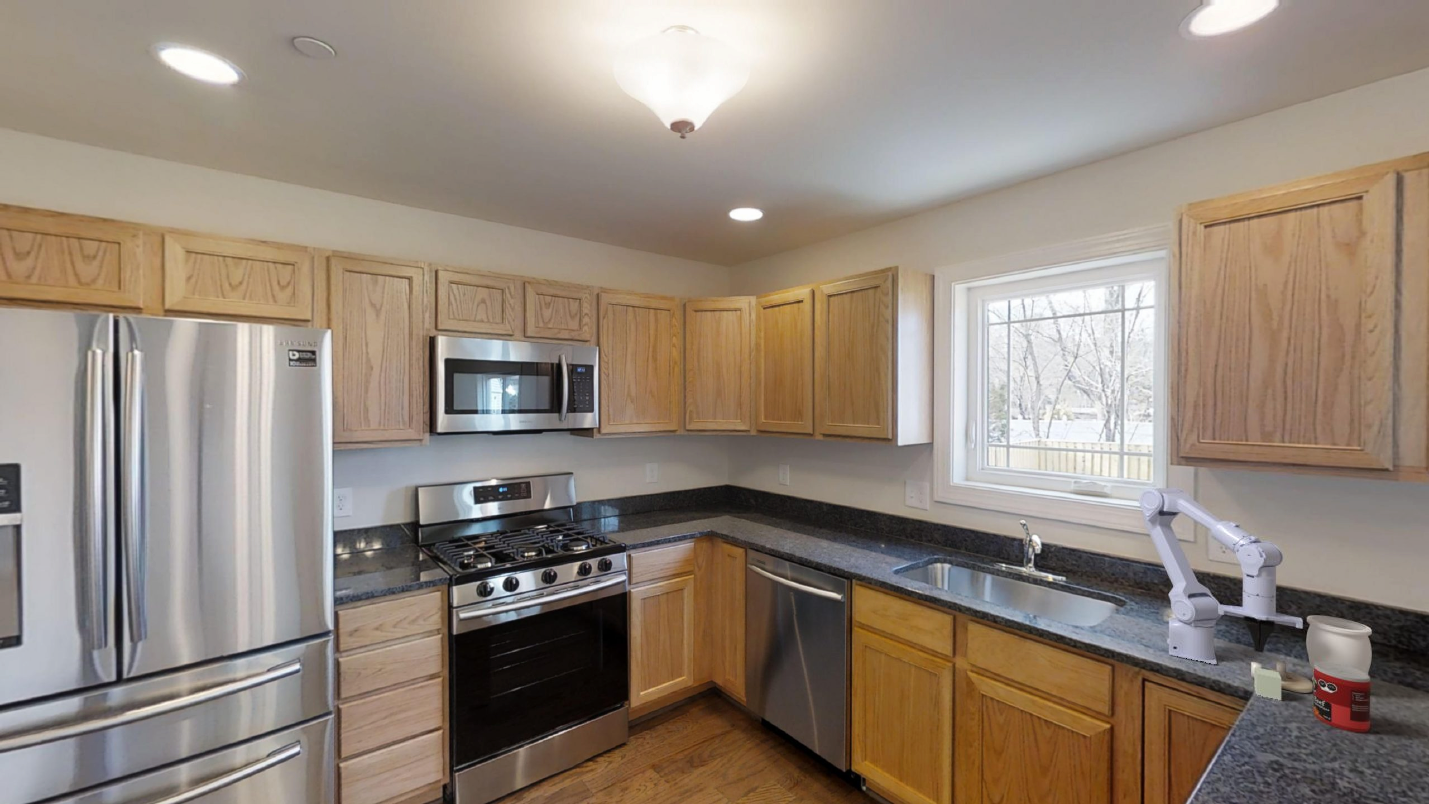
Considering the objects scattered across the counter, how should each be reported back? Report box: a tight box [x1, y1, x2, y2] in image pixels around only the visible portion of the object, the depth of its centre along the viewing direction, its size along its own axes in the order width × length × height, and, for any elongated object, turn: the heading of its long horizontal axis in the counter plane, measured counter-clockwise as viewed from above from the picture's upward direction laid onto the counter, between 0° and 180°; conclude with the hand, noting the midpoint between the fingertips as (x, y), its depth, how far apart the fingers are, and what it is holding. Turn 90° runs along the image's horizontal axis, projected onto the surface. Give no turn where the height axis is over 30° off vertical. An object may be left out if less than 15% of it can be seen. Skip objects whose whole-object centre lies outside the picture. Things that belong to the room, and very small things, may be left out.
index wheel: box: [1269, 661, 1314, 694], centre depth 136 cm, size 8×8×6 cm
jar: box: [1305, 615, 1373, 682], centre depth 136 cm, size 11×10×15 cm
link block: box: [1253, 667, 1282, 701], centre depth 132 cm, size 4×4×5 cm
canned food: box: [1312, 662, 1371, 734], centre depth 120 cm, size 8×8×11 cm
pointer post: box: [1250, 661, 1263, 677], centre depth 139 cm, size 2×2×4 cm
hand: (1258, 650), depth 137 cm, fingers closed
